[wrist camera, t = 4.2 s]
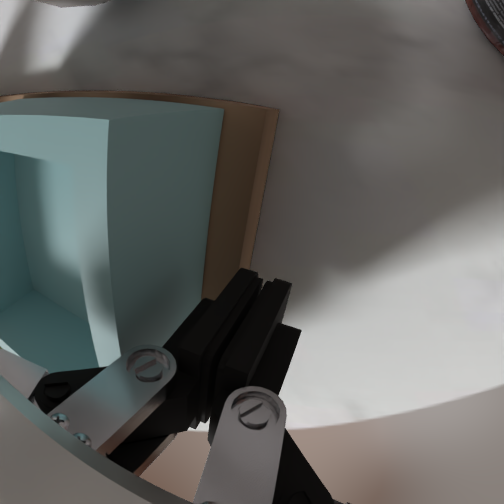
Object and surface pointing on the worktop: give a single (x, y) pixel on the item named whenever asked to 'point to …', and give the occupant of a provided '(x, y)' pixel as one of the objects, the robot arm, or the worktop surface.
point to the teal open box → (101, 224)
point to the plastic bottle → (73, 2)
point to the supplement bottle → (489, 20)
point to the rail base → (220, 178)
